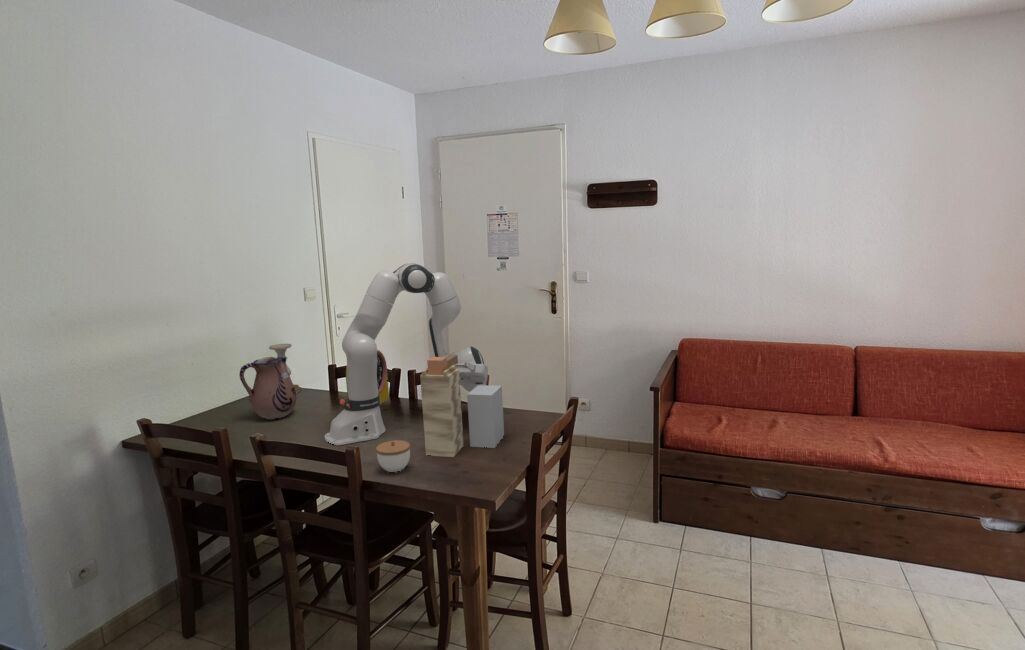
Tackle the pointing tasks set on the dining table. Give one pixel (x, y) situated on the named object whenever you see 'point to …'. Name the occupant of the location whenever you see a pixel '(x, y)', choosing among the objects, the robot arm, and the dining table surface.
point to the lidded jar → (393, 455)
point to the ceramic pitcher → (270, 388)
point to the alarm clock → (380, 377)
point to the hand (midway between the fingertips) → (453, 364)
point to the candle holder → (280, 351)
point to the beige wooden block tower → (442, 412)
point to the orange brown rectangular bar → (441, 364)
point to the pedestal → (485, 416)
